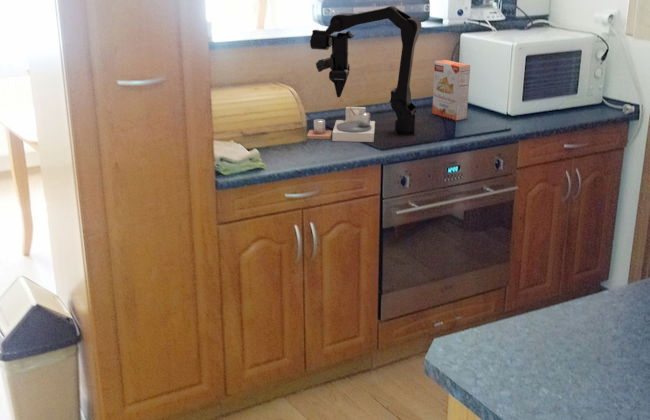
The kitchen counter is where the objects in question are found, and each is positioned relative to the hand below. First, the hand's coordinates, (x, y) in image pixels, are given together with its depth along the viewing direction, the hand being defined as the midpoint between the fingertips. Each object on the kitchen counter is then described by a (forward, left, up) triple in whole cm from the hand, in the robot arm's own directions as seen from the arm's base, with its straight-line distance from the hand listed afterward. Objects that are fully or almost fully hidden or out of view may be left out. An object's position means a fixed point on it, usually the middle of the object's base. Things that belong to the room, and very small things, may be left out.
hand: (339, 94), depth 267 cm
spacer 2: (-10, +13, -8) cm, 18 cm away
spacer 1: (+6, +13, -11) cm, 18 cm away
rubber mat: (+6, +13, -12) cm, 19 cm away
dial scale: (-6, +11, -12) cm, 17 cm away
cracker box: (-41, -20, -12) cm, 47 cm away
